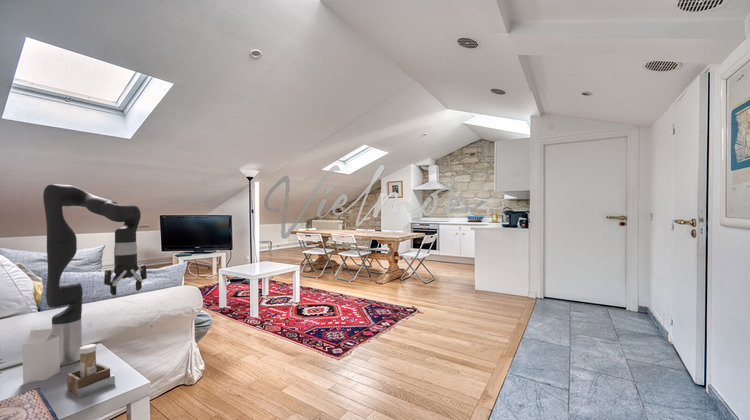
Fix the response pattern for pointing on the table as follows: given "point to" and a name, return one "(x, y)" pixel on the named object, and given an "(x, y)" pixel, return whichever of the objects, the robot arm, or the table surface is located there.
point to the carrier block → (77, 381)
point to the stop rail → (95, 386)
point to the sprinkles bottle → (87, 360)
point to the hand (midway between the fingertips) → (126, 292)
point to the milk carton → (40, 355)
